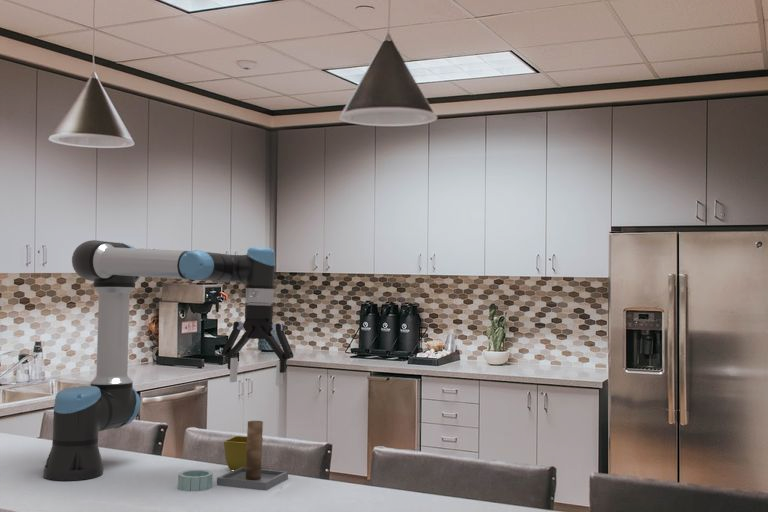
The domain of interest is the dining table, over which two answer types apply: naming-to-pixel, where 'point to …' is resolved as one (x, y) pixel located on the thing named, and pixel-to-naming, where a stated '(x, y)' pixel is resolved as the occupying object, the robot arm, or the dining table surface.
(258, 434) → the cylinder
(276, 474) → the tray
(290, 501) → the dining table surface
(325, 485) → the dining table surface
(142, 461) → the dining table surface
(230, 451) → the flower pot
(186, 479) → the crock
